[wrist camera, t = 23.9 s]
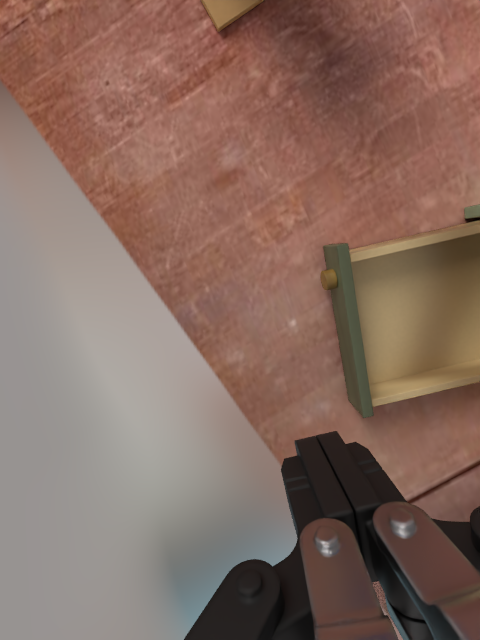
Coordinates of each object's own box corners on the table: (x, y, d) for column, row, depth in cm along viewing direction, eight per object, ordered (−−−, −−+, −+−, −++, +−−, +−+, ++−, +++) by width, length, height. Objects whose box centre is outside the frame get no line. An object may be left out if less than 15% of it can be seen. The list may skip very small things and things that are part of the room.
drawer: (338, 402, 28) (352, 421, 25) (312, 248, 25) (324, 248, 22) (525, 358, 28) (561, 371, 25) (519, 200, 25) (558, 194, 22)
